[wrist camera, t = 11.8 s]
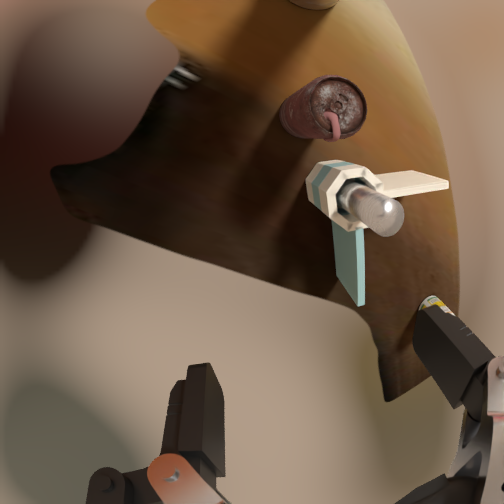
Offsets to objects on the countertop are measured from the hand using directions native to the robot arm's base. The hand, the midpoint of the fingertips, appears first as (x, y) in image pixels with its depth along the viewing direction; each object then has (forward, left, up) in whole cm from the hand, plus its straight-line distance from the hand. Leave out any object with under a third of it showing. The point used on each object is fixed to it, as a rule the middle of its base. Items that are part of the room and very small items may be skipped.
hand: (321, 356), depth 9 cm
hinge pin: (+1, +11, -30) cm, 32 cm away
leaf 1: (+6, +11, -30) cm, 33 cm away
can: (-9, +8, -30) cm, 33 cm away
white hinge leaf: (+1, +16, -30) cm, 34 cm away
